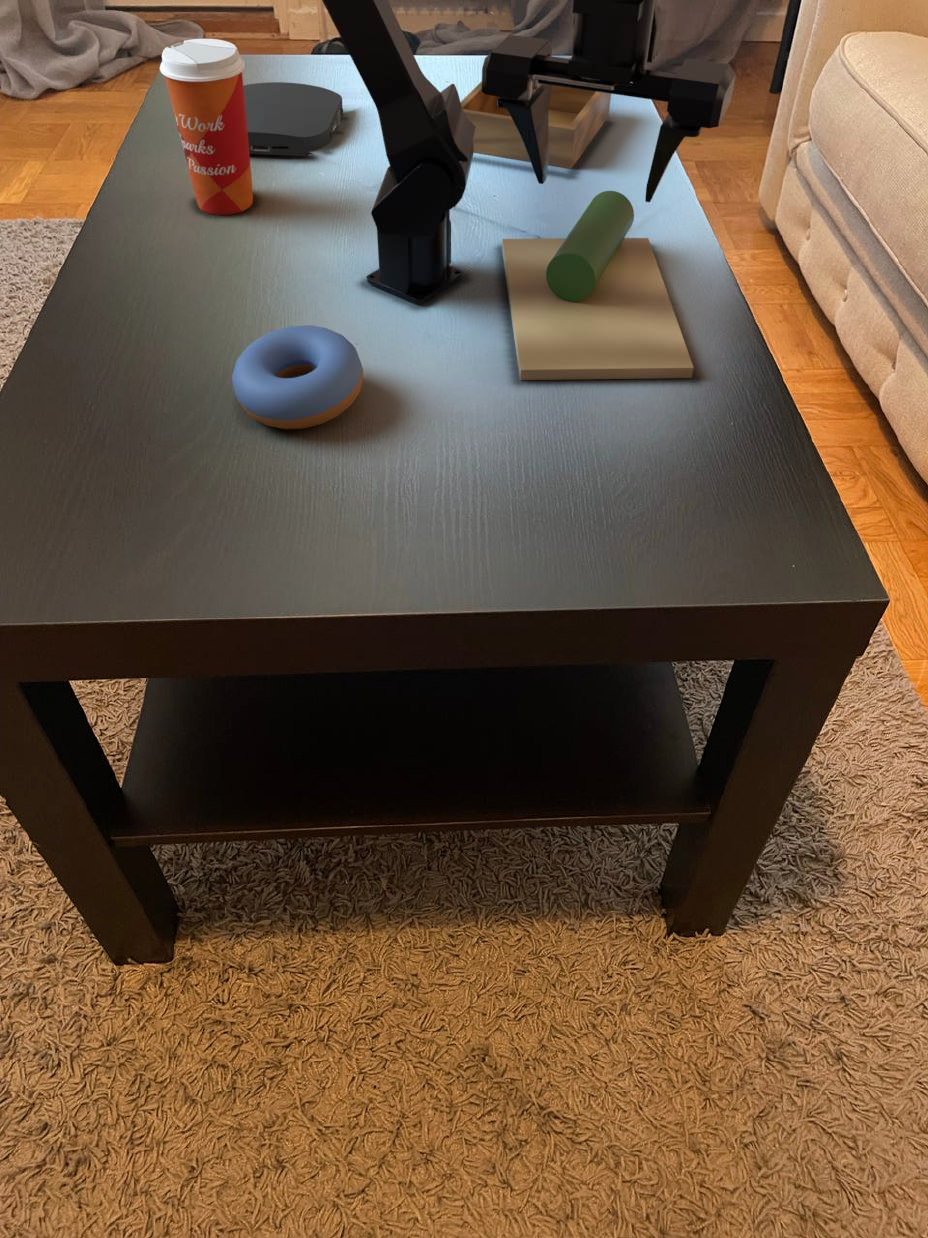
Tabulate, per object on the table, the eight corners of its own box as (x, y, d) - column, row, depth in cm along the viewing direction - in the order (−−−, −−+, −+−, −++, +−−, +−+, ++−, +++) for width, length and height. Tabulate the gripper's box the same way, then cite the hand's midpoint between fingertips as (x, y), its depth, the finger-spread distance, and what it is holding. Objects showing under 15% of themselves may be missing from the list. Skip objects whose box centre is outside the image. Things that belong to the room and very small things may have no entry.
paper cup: (171, 205, 98) (138, 53, 88) (224, 179, 103) (199, 30, 92) (227, 227, 95) (200, 71, 85) (280, 199, 100) (261, 47, 89)
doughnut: (231, 442, 72) (220, 390, 69) (243, 366, 79) (233, 316, 76) (364, 438, 73) (360, 386, 70) (365, 363, 80) (361, 313, 76)
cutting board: (691, 378, 79) (694, 367, 78) (519, 380, 78) (520, 369, 78) (646, 247, 94) (648, 237, 93) (501, 248, 93) (502, 238, 92)
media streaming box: (228, 103, 116) (224, 76, 114) (349, 109, 116) (347, 82, 114) (195, 154, 107) (190, 125, 104) (327, 161, 106) (324, 132, 104)
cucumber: (587, 248, 81) (630, 181, 90) (539, 258, 83) (586, 191, 92) (600, 297, 83) (641, 227, 92) (553, 305, 86) (598, 236, 94)
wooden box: (570, 176, 104) (574, 129, 101) (452, 155, 107) (452, 109, 104) (607, 122, 114) (613, 78, 111) (498, 105, 117) (500, 62, 114)
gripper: (767, -42, 73) (724, 170, 84) (529, -68, 77) (519, 137, 88) (741, 1, 66) (698, 226, 77) (481, -30, 70) (477, 187, 81)
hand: (594, 190), depth 81 cm, fingers open, 9 cm apart
